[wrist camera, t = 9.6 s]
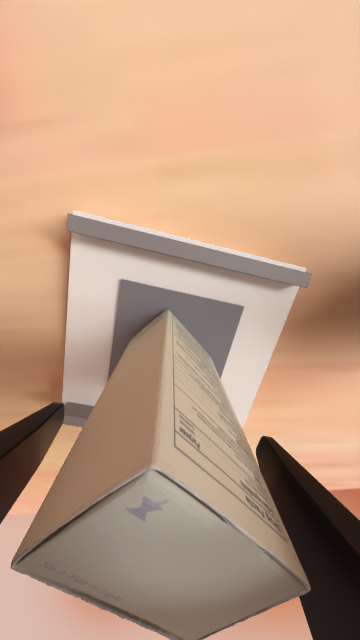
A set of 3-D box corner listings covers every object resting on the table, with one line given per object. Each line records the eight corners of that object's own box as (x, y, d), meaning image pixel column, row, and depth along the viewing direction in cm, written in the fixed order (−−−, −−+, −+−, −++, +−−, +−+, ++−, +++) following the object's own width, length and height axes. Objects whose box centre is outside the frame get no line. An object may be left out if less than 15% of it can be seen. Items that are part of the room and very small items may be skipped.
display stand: (295, 267, 16) (321, 268, 13) (232, 429, 21) (242, 455, 18) (83, 215, 14) (60, 202, 11) (69, 402, 19) (51, 426, 16)
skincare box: (129, 339, 15) (-14, 565, 4) (169, 305, 15) (146, 458, 3) (177, 387, 17) (182, 659, 5) (216, 359, 16) (322, 601, 4)
